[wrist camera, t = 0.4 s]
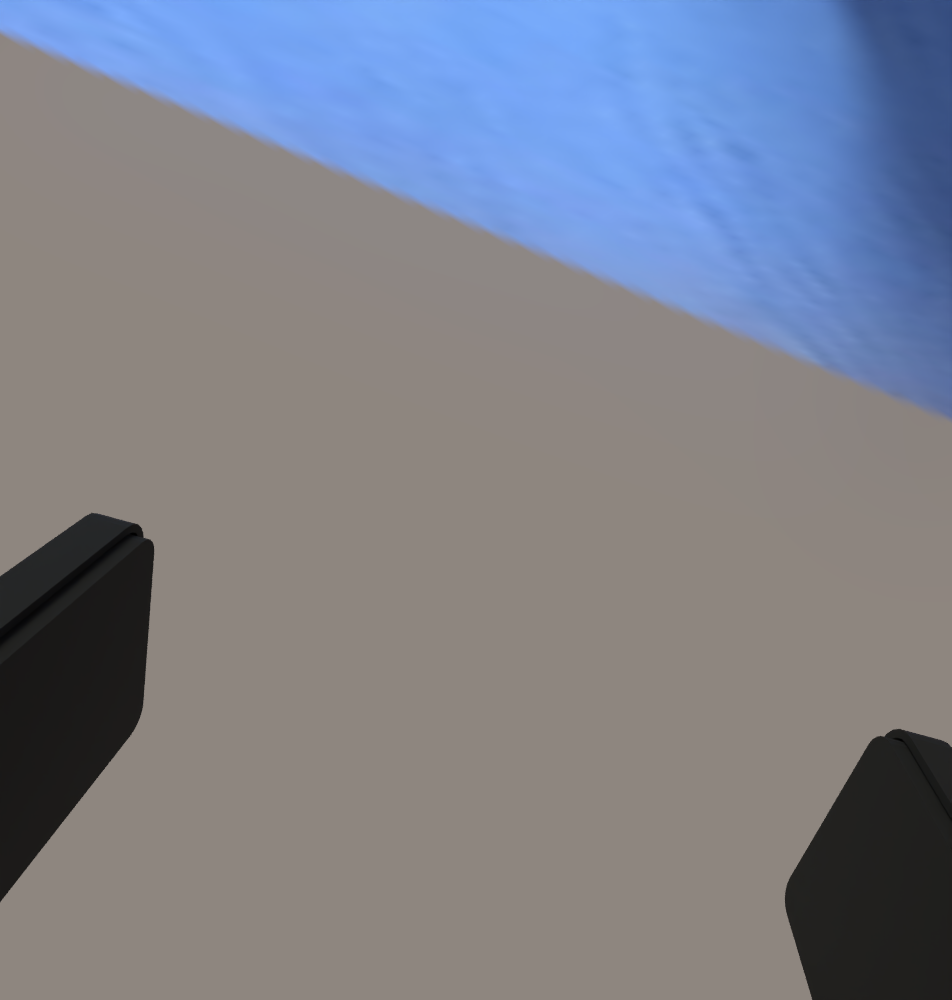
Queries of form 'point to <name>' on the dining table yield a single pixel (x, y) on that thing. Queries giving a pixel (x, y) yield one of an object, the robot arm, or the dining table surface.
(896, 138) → the dining table surface
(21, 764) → the robot arm
